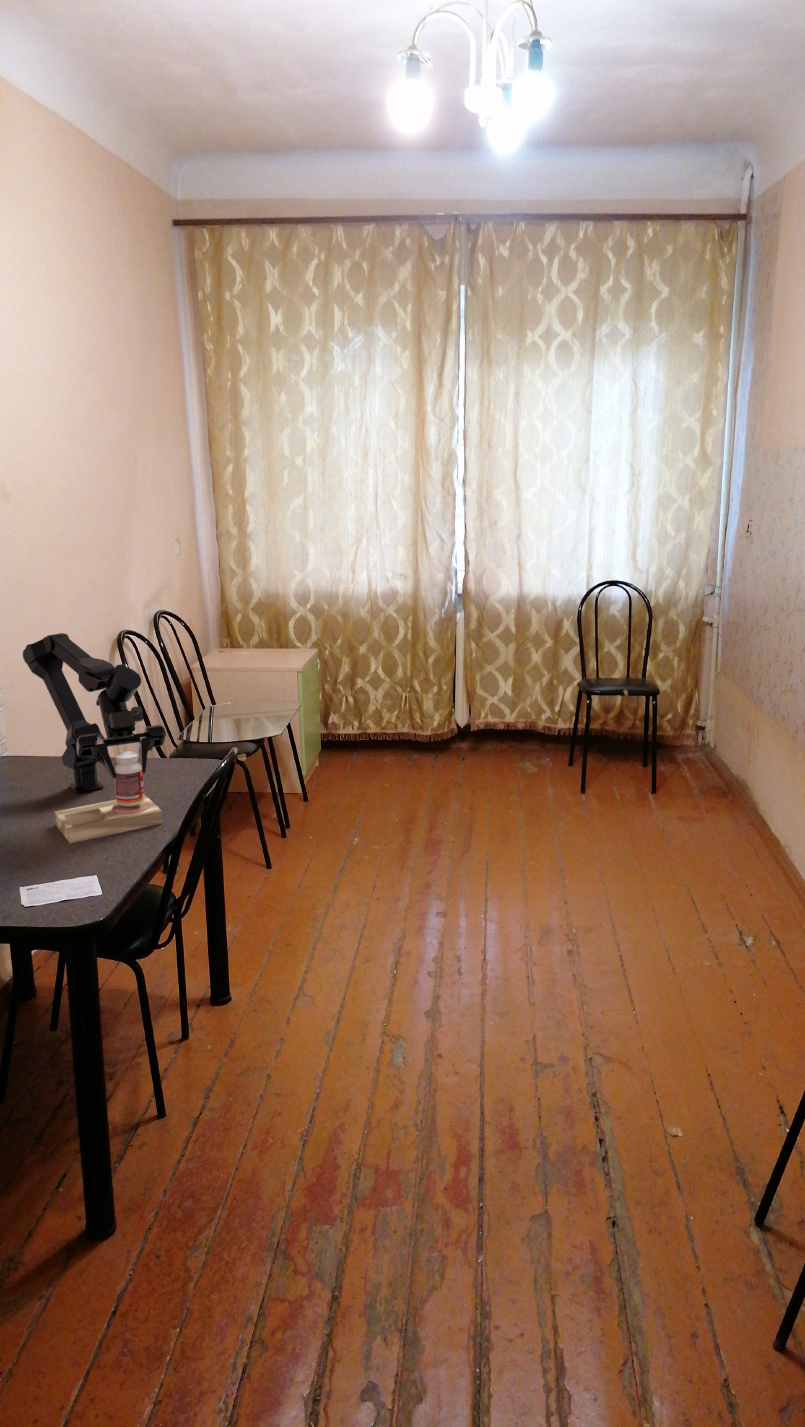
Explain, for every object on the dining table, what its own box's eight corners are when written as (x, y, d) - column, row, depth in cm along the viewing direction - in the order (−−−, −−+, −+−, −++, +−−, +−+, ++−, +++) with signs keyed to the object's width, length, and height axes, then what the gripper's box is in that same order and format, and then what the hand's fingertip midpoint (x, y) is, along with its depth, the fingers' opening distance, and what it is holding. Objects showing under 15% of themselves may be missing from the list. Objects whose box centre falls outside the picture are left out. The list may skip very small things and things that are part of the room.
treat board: (55, 824, 210) (54, 810, 209) (145, 806, 220) (144, 792, 219) (69, 843, 200) (68, 828, 199) (162, 823, 211) (161, 809, 210)
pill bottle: (149, 803, 210) (145, 756, 207) (121, 809, 207) (116, 761, 204) (139, 794, 215) (135, 748, 212) (112, 800, 212) (108, 753, 209)
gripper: (73, 700, 204) (87, 764, 198) (161, 690, 212) (177, 751, 206) (70, 725, 213) (84, 788, 206) (154, 714, 221) (170, 774, 215)
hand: (129, 774), depth 208 cm, fingers closed on pill bottle, 6 cm apart
